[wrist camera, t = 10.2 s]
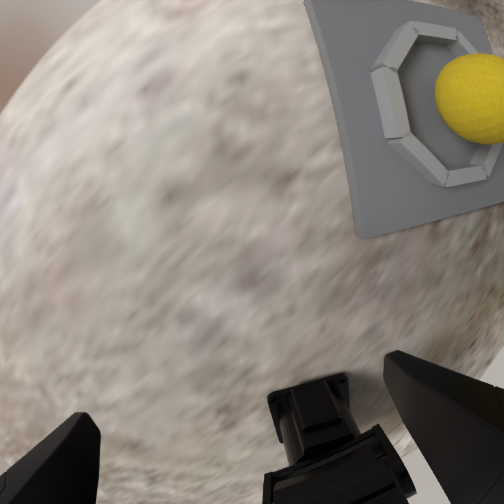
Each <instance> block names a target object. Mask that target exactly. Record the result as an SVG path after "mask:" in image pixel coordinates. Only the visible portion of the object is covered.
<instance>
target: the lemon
mask: <svg viewBox="0 0 504 504" xmlns="http://www.w3.org/2000/svg"><path fill="white" fill-rule="evenodd" d="M434 95H435V102H436V105H437V109H438V111H439V113H440V115H441V117H442V119H443V120H444V122H445V123H446V124H447V126H448V127H449V128H450V129H452V130H453V131H454V132H455V133H456V134H457V135H459V136H461V137H463V138H464V139H466V140H468V141H471V142H475V143H480V144H487V145H493V144H499V143H504V59H503V58H501V57H498V56H495V55H492V54H486V53H475V54H467V55H462V56H459V57H457V58H455V59H454V60H452V61H451V62H449V63H448V64H446V65H445V66H444V67H443V69H442V70H441V72H440V73H439V75H438V77H437V80H436V83H435V93H434Z"/></svg>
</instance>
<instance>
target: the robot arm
mask: <svg viewBox="0 0 504 504" xmlns="http://www.w3.org/2000/svg"><path fill="white" fill-rule="evenodd" d="M383 377H384V381H385V384H386V386H387V388H388V390H389V392H390V395H391V397H392V399H393V401H394V403H395V406H396V408H397V410H398V412H399V414H400V417H401V419H402V421H403V423H404V424H405V426H406V428H407V429H408V431H409V433H410V434H411V436H412V438H413V439H414V441H415V443H416V444H417V446H418V448H419V449H420V451H421V453H422V454H423V456H424V458H425V459H426V461H427V463H428V464H429V466H430V468H431V469H432V471H433V473H434V475H435V476H436V478H437V480H438V482H439V483H440V485H441V487H442V489H443V490H444V492H445V494H446V496H447V497H448V499H449V501H450V503H451V504H504V389H502V388H499V387H497V386H496V387H494V386H493V385H491V384H488V383H485V382H482V381H479V380H477V379H474V378H471V377H468V376H466V375H463V374H460V373H457V372H455V371H452V370H449V369H447V368H444V367H441V366H439V365H436V364H433V363H431V362H428V361H426V360H423V359H420V358H418V357H415V356H413V355H410V354H407V353H405V352H402V351H400V350H395V351H393V352H390V353H387V354H386V355H385V357H384V372H383ZM341 379H342V380H341ZM273 398H276V399H273ZM267 401H268V405H269V408H270V412H271V415H272V419H273V422H274V425H275V429H276V432H277V436H278V439H279V442H280V443H284V446H285V450H286V454H287V458H288V462H289V467H286V468H283V469H281V470H278V471H275V472H269V473H266V474H264V483H263V501H262V504H409V503H408V500H407V498H409V497H411V496H413V495H415V494H416V493H417V492H416V489H415V486H414V484H413V482H412V479H411V477H410V475H409V473H408V471H407V469H406V467H405V466H404V463H403V462H402V460H401V458H400V456H399V455H398V453H397V452H396V450H395V448H394V447H393V445H392V444H391V442H390V441H389V439H388V438H387V436H386V434H385V433H384V431H383V430H382V428H381V427H380V425H379V424H377V425H375V426H373V427H372V429H370V430H368V431H366V432H364V433H362V434H361V433H360V431H359V429H358V427H357V425H356V423H355V421H354V419H353V417H352V415H351V413H350V411H349V388H348V378H347V376H346V374H344V373H341V374H338V375H334V376H331V377H328V378H325V379H321V380H318V381H315V382H311V383H308V384H304V385H301V386H297V387H293V388H289V389H286V390H282V391H278V392H274V393H270V394H269V395H268V396H267ZM100 443H101V433H100V430H99V428H98V427H97V426H96V424H95V423H94V421H93V420H92V418H91V417H90V415H89V414H88V413H86V412H76V413H74V414H73V415H71V416H70V417H69V418H68V419H67V420H66V421H64V422H63V423H62V424H61V425H60V426H59V427H57V428H56V429H55V430H54V431H53V432H52V433H50V434H49V435H48V436H47V437H46V438H44V439H43V440H42V441H41V442H40V443H39V444H37V445H36V446H35V447H34V448H33V449H32V450H30V451H29V452H28V453H27V454H26V455H24V456H23V457H22V458H21V459H20V460H19V461H17V462H16V463H15V464H14V465H13V466H11V467H10V468H9V469H8V470H7V472H4V473H3V474H2V475H1V476H0V504H96V497H97V489H98V481H99V467H100Z"/></svg>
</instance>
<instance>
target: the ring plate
mask: <svg viewBox="0 0 504 504" xmlns="http://www.w3.org/2000/svg"><path fill="white" fill-rule="evenodd" d="M303 2H304V5H305V8H306V11H307V14H308V17H309V20H310V23H311V26H312V29H313V32H314V36H315V39H316V42H317V46H318V49H319V53H320V56H321V60H322V63H323V67H324V71H325V75H326V78H327V82H328V86H329V90H330V94H331V99H332V103H333V107H334V111H335V116H336V120H337V125H338V130H339V134H340V139H341V144H342V149H343V155H344V160H345V166H346V171H347V177H348V183H349V189H350V195H351V202H352V209H353V216H354V223H355V231H356V235H357V236H358V237H360V238H362V239H368V238H372V237H376V236H380V235H384V234H387V233H391V232H395V231H399V230H403V229H406V228H410V227H414V226H418V225H421V224H425V223H429V222H433V221H436V220H440V219H444V218H447V217H451V216H455V215H458V214H462V213H466V212H469V211H473V210H477V209H480V208H484V207H487V206H491V205H494V204H498V203H502V202H504V143H499V144H493V145H487V144H480V143H475V142H471V141H468V140H466V139H464V138H463V137H461V136H459V135H457V134H456V133H455V132H454V131H453V130H452V129H450V128H449V127H448V126H447V124H446V123H445V122H444V120H443V119H442V117H441V115H440V113H439V111H438V109H437V105H436V102H435V95H434V93H435V83H436V80H437V77H438V75H439V73H440V72H441V70H442V69H443V67H444V66H445V65H446V64H448V63H449V62H451V61H452V60H454V59H455V58H457V57H459V56H462V55H467V54H475V53H486V54H492V50H491V47H490V44H489V41H488V38H487V35H486V32H485V29H484V27H483V24H482V21H481V19H480V18H479V17H476V16H472V15H469V14H466V13H462V12H458V11H455V10H451V9H447V8H443V7H438V6H434V5H429V4H424V3H419V2H413V1H407V0H304V1H303ZM492 55H493V54H492Z"/></svg>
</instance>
